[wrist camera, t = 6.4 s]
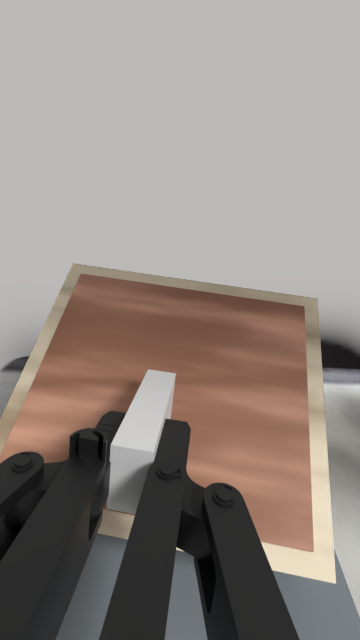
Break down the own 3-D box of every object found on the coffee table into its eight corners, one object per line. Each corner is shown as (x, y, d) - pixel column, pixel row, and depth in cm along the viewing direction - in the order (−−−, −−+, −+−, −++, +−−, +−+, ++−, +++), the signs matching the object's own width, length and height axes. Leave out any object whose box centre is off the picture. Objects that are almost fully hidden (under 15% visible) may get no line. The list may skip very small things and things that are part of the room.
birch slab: (338, 584, 14) (318, 296, 23) (-43, 503, 16) (72, 261, 24) (294, 569, 20) (291, 339, 28) (11, 509, 21) (90, 308, 30)
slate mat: (425, 810, 12) (428, 804, 12) (-173, 654, 14) (-174, 648, 14) (281, 412, 39) (282, 409, 39) (87, 379, 41) (87, 376, 41)
